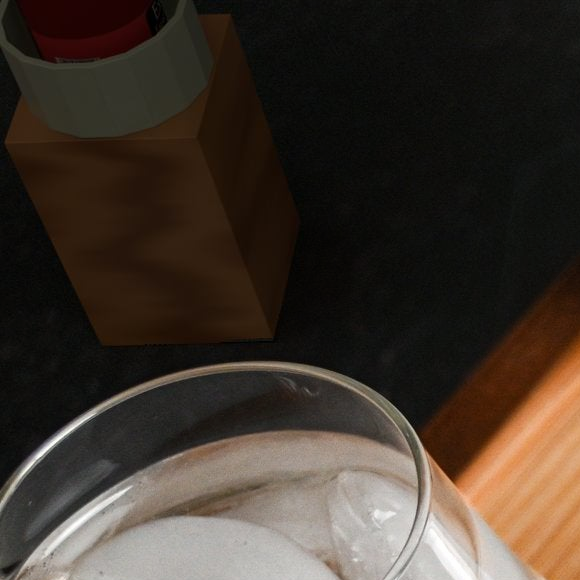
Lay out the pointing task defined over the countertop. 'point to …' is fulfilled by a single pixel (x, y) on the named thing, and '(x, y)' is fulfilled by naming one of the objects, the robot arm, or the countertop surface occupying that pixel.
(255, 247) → the riser
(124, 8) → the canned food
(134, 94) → the bowl
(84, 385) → the countertop surface
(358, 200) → the countertop surface
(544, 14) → the countertop surface
